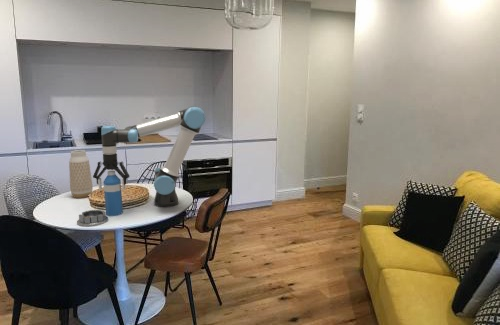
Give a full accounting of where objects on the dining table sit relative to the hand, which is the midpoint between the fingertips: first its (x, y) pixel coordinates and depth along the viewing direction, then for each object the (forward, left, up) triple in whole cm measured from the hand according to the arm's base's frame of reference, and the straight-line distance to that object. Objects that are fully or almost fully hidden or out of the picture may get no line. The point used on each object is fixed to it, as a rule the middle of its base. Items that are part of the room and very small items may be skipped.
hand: (112, 189), depth 229 cm
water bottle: (0, 0, -14) cm, 14 cm away
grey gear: (+7, +14, -14) cm, 21 cm away
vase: (+35, -37, -14) cm, 53 cm away
